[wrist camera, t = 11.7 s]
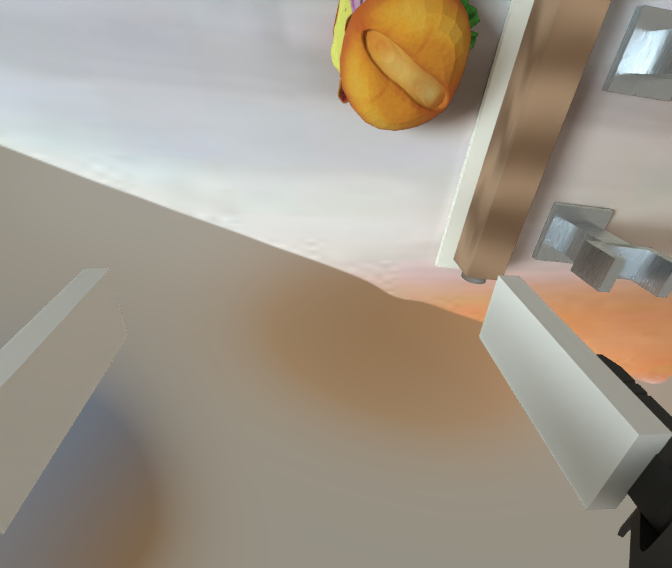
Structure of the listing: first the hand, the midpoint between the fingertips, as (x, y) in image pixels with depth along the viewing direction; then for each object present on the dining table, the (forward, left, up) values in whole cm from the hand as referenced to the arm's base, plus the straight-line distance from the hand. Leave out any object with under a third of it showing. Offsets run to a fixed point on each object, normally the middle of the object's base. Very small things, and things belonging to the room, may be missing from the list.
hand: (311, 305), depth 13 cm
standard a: (+23, +17, -24) cm, 37 cm away
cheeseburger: (-3, +11, -25) cm, 27 cm away
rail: (+10, +15, -24) cm, 30 cm away
